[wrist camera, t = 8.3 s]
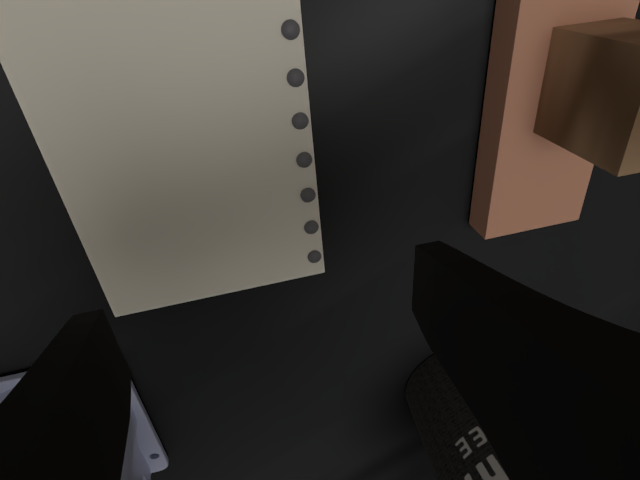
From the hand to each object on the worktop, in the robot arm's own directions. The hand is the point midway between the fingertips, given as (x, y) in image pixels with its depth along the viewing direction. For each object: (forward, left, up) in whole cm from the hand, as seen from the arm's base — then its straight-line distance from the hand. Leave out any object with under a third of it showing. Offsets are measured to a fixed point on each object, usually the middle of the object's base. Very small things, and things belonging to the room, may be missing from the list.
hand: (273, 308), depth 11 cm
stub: (+2, -13, -9) cm, 16 cm away
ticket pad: (+2, +2, -9) cm, 9 cm away
